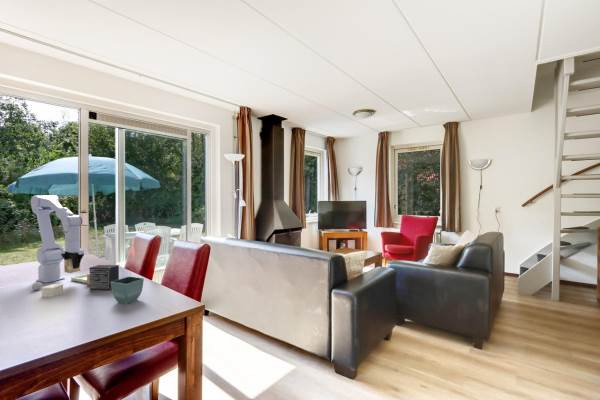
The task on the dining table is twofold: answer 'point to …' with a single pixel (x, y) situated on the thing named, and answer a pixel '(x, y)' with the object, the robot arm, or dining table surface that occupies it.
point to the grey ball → (37, 286)
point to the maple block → (69, 266)
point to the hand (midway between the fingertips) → (72, 267)
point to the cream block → (52, 290)
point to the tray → (80, 278)
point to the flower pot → (127, 289)
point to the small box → (103, 276)
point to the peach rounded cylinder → (88, 279)
